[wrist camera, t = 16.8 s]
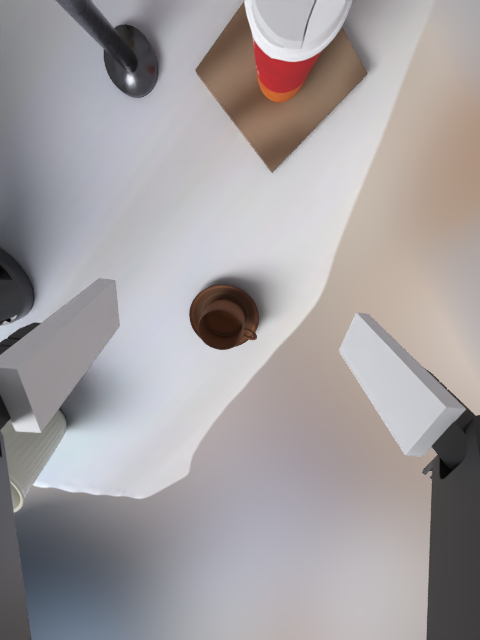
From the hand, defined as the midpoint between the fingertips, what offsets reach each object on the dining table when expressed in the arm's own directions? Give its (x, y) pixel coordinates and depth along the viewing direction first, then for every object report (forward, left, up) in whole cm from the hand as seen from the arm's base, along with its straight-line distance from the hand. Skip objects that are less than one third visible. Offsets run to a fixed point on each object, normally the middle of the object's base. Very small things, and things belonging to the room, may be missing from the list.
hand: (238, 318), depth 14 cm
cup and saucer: (0, -13, -28) cm, 31 cm away
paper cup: (-2, +19, -26) cm, 33 cm away
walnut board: (-2, +19, -27) cm, 33 cm away
